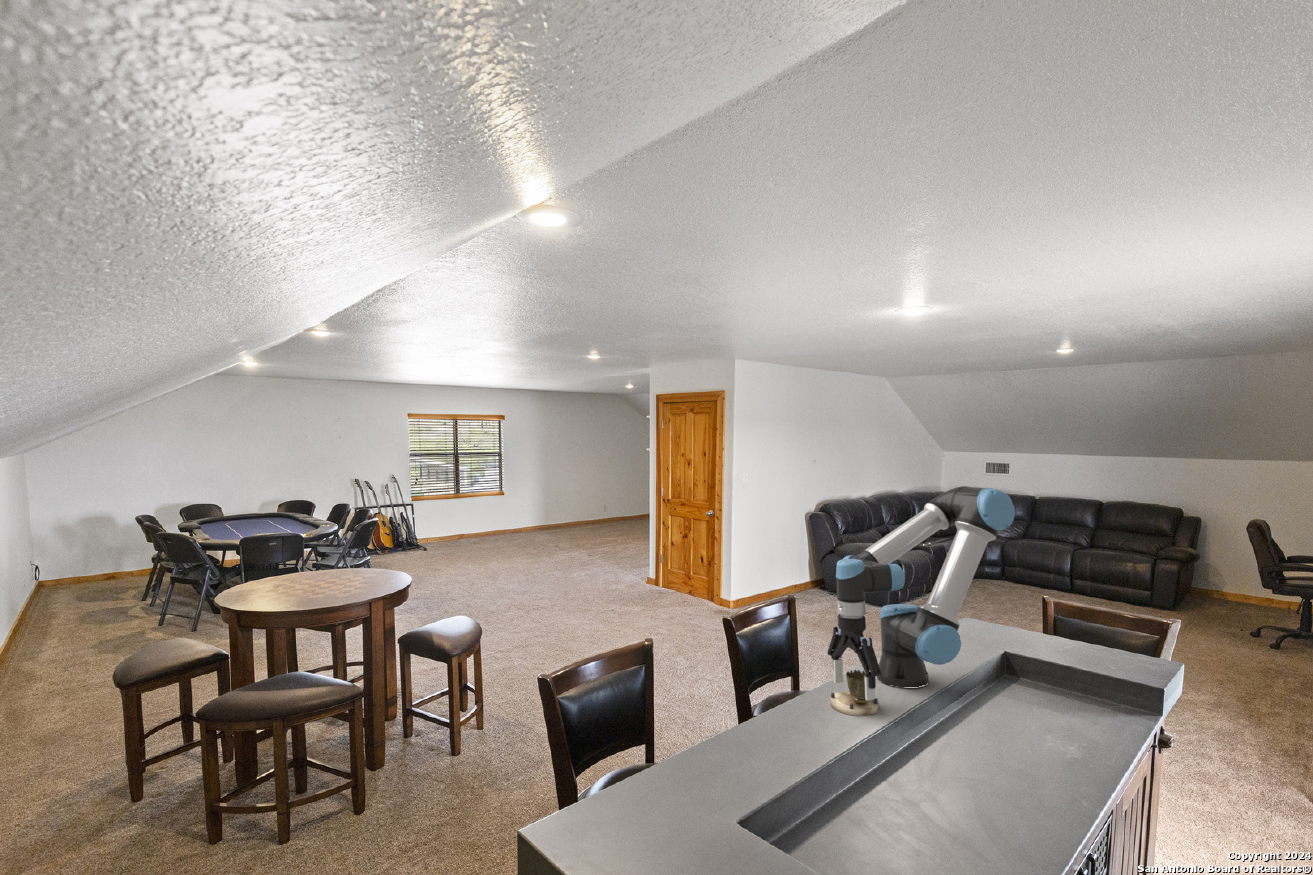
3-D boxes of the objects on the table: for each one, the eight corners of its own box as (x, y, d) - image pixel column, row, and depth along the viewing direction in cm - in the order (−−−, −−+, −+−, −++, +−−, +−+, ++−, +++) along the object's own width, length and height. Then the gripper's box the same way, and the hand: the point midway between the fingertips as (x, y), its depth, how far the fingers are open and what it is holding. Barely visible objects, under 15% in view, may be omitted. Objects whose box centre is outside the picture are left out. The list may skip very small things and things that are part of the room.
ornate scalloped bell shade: (878, 708, 171) (877, 678, 171) (851, 708, 171) (850, 679, 171) (870, 697, 178) (869, 669, 179) (844, 697, 179) (843, 669, 179)
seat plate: (857, 693, 185) (857, 684, 185) (888, 710, 173) (888, 700, 173) (820, 701, 181) (820, 691, 181) (850, 718, 168) (849, 708, 169)
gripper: (814, 606, 188) (816, 677, 187) (870, 628, 164) (873, 709, 164) (834, 603, 190) (837, 673, 190) (893, 624, 167) (896, 704, 167)
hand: (853, 690), depth 177 cm, fingers open, 13 cm apart
